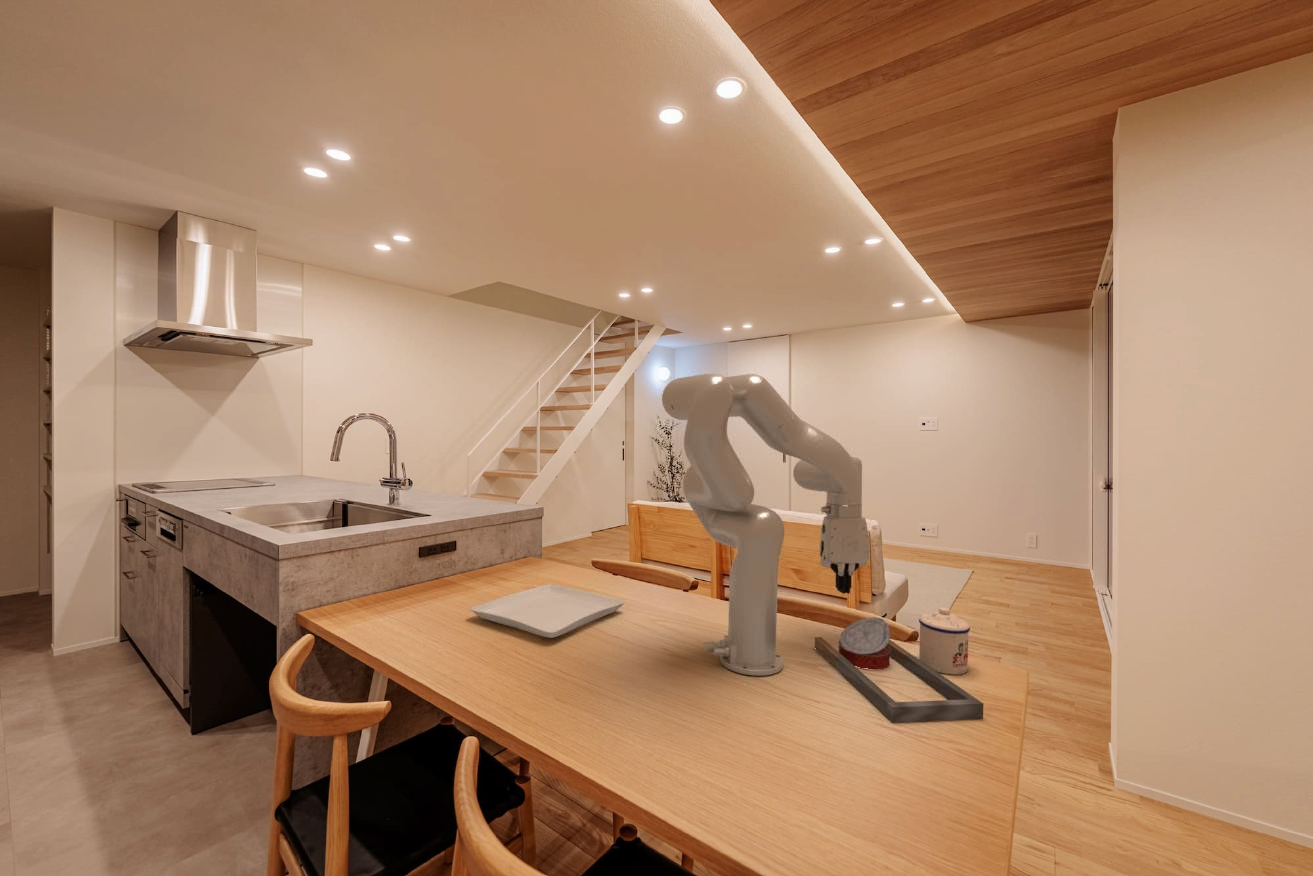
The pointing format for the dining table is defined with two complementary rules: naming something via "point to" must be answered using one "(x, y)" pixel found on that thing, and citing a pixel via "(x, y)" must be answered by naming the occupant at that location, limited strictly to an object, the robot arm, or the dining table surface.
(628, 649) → the dining table surface
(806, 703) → the dining table surface
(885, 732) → the dining table surface
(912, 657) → the can dock
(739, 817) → the dining table surface
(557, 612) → the square plate
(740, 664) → the robot arm
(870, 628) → the canned food
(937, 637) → the teacup with lid
